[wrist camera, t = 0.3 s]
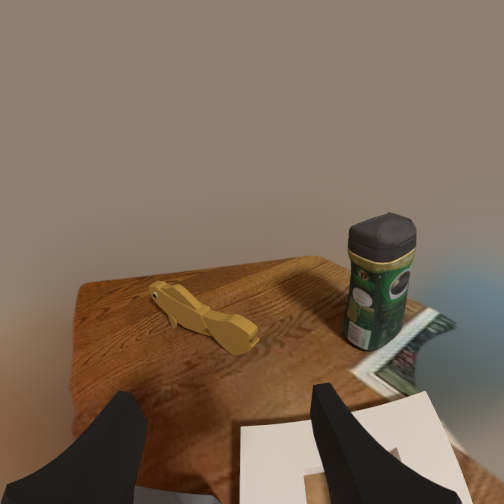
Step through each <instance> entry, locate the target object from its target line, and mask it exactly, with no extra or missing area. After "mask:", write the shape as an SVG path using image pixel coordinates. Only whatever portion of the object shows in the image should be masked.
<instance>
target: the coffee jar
mask: <svg viewBox="0 0 504 504" xmlns="http://www.w3.org/2000/svg"><path fill="white" fill-rule="evenodd" d="M415 249H416V228H415V225H414V224H413V222H412V220H411V219H409V218H406V217H403V216H400V215H397V214H394V213H390V212H389V213H387V214H385V215H382V216H378V217H374V218H372V219H369V220H366V221H364V222H361V223H358V224H356V225H353V226H352V227H351V228H350V229H349V239H348V255H349V258H350V260H351V278H350V287H349V294H348V301H347V307H346V313H345V319H344V326H343V333H344V336H345V337H346V338H347V339H348V340H349V342H351V343H352V344H353V345H354V346H356V347H358V348H360V349H363V350H367V351H374V350H377V349H379V348H381V347H383V346H384V345H386V344H387V343H388V342H390V341H391V340H392V339H393V338H394V337H395V336H396V335H397V334H398V333H399V332H400V330H401V328H402V324H403V319H404V312H405V305H406V298H407V291H408V284H409V277H410V271H411V265H412V261H413V257H414V253H415Z"/></svg>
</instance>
